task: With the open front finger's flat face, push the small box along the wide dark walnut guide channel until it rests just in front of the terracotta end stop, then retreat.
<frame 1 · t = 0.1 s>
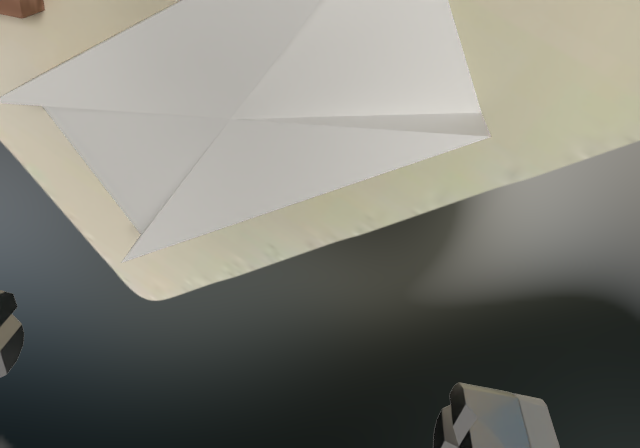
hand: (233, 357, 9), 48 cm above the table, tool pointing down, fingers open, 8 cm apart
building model: (252, 85, 57), on the table
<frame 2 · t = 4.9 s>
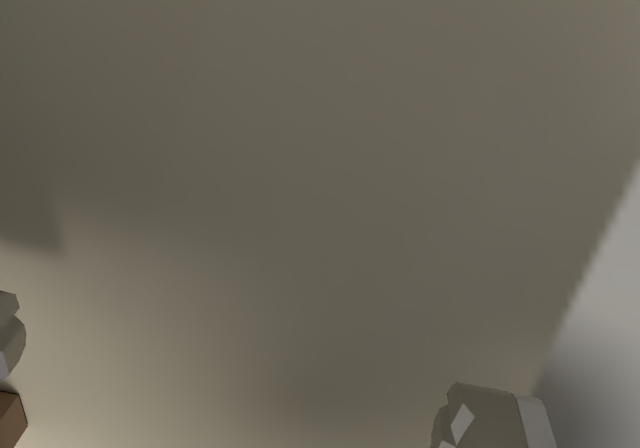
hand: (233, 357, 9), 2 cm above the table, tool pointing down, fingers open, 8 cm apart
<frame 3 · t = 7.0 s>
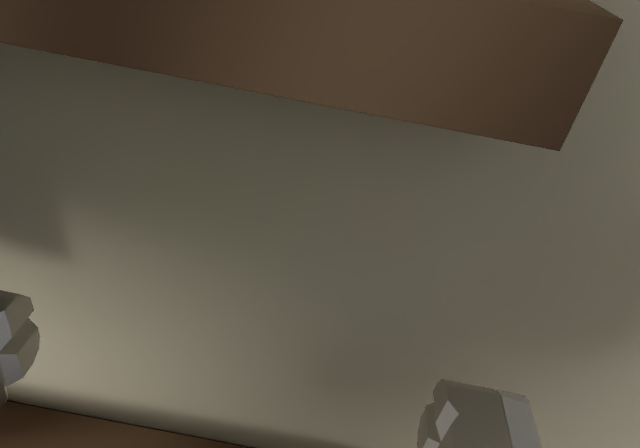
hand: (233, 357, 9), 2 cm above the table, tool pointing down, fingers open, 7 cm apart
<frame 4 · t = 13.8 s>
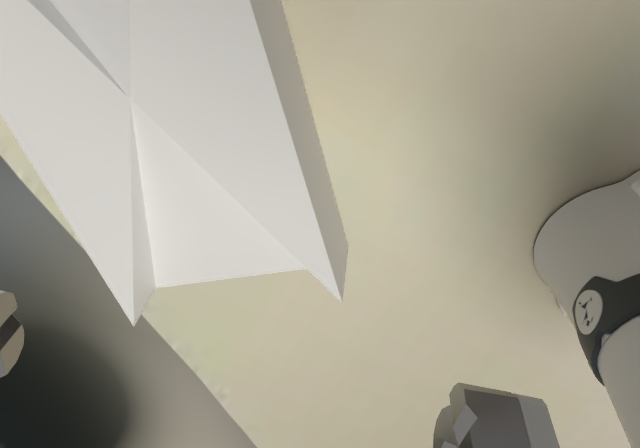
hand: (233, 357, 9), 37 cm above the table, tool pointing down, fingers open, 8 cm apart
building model: (175, 60, 45), on the table
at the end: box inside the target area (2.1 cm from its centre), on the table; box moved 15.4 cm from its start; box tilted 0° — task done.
